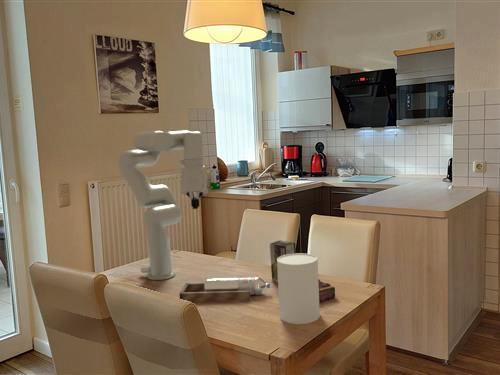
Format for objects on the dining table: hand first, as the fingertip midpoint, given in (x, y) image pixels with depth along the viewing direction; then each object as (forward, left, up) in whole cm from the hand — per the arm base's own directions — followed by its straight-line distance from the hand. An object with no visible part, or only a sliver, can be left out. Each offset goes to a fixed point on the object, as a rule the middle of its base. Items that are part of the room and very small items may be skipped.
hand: (195, 208), depth 199 cm
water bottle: (+3, -10, -30) cm, 31 cm away
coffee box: (+34, +5, -33) cm, 48 cm away
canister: (+39, -33, -33) cm, 61 cm away
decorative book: (+45, -14, -34) cm, 57 cm away
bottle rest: (+8, -11, -33) cm, 36 cm away
